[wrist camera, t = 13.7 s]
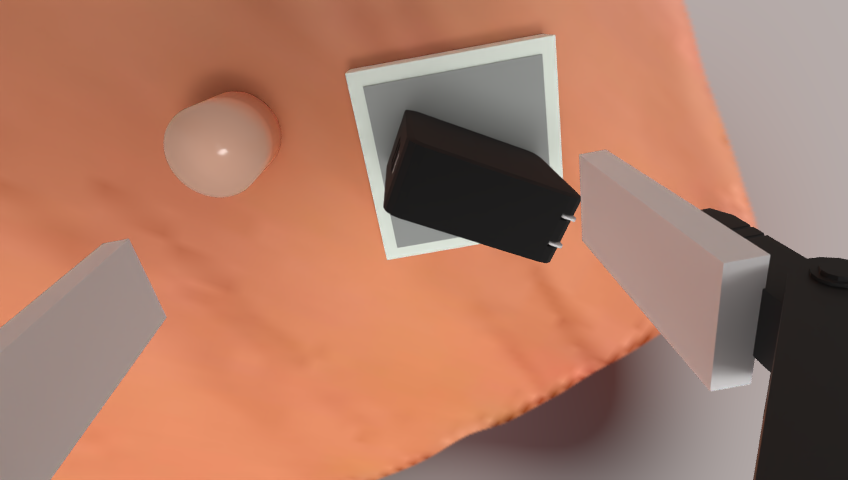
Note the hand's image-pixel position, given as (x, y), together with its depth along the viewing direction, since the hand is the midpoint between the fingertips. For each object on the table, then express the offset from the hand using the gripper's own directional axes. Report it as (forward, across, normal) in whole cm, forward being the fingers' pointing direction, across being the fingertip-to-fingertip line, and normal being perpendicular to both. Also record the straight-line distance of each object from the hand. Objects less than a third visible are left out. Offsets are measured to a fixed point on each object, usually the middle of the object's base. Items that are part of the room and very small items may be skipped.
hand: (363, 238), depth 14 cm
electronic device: (+21, +5, -4) cm, 22 cm away
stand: (+24, +5, -4) cm, 25 cm away
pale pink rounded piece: (+24, -10, 0) cm, 27 cm away
